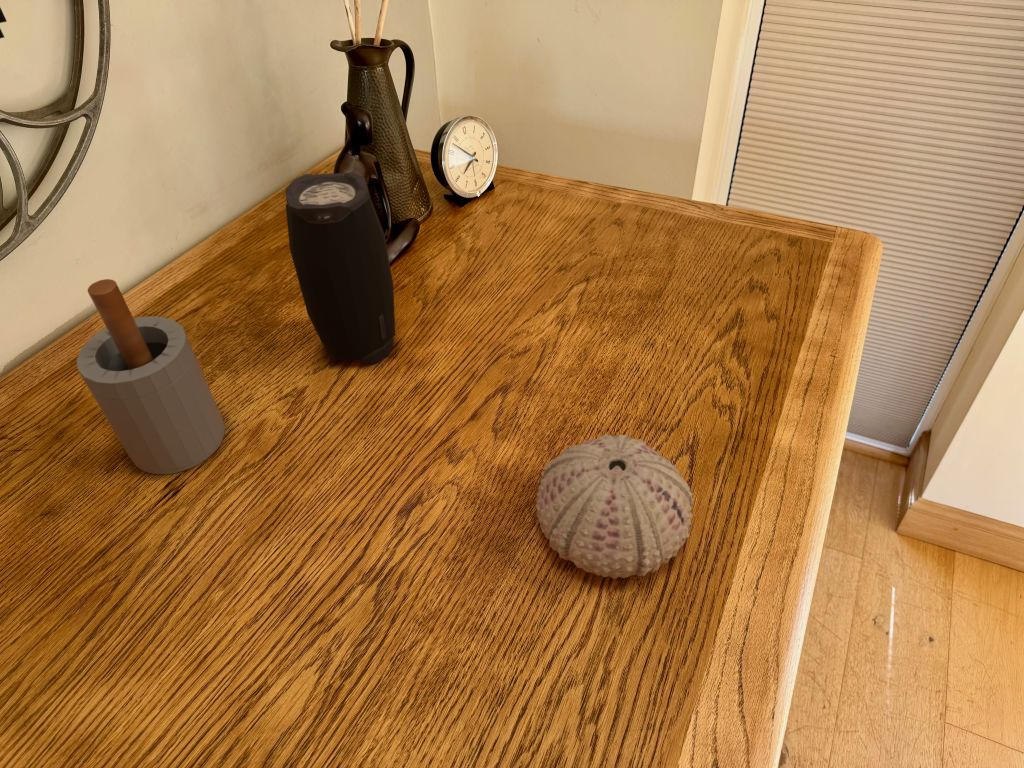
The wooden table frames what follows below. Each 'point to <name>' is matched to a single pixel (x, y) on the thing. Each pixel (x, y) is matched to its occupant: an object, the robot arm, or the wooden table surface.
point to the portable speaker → (342, 265)
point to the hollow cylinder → (155, 398)
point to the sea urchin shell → (614, 507)
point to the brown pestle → (120, 323)
